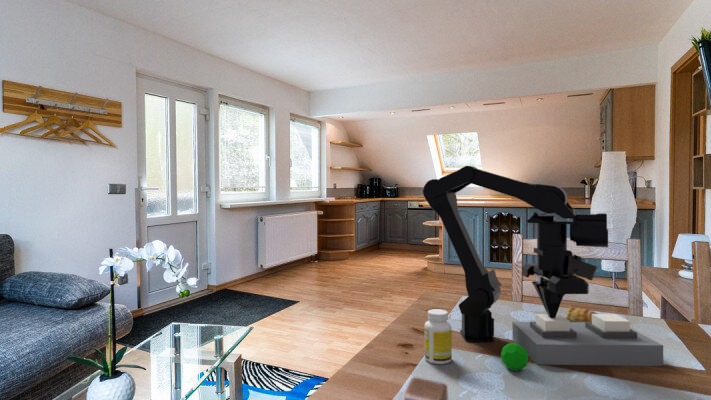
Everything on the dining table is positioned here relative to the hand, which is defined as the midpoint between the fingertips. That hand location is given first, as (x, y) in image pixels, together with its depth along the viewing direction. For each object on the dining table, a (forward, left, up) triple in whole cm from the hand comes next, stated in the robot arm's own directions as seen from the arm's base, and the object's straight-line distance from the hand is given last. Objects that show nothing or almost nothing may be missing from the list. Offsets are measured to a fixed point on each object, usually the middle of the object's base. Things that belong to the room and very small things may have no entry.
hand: (552, 317), depth 85 cm
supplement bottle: (-25, -5, -7) cm, 27 cm away
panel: (+6, 0, -7) cm, 9 cm away
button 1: (0, 0, -3) cm, 3 cm away
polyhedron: (-11, -9, -7) cm, 16 cm away
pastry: (+17, +19, -8) cm, 27 cm away
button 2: (+12, 0, -3) cm, 12 cm away
